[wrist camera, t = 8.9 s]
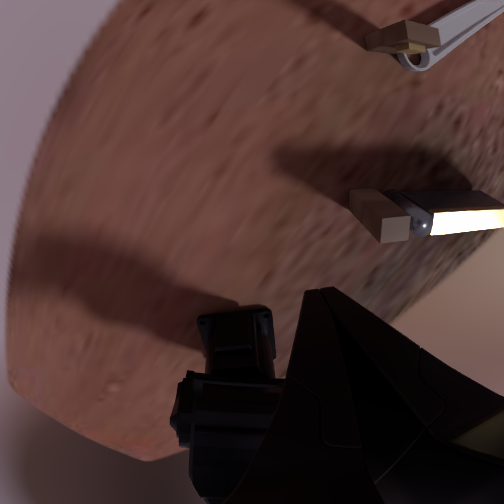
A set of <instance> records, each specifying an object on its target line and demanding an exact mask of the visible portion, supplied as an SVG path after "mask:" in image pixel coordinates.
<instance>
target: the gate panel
mask: <svg viewBox="0 0 504 504" xmlns="http://www.w3.org/2000/svg"><path fill="white" fill-rule="evenodd" d="M383 195H384V196H386V197H387V198H388V199H390V200H391V201H392V202H394V203H395V204H396V205H398V206H399V207H400V208H402V209H403V210H404V211H406V212H407V213H408V214H409V215H411V220H410V228H409V229H410V230H411V231H412V232H413V233H414V234H415V235H416V236H418V237H425V236H426V235H428V234H430V235H436V234H446V233H455V232H464V231H472V230H481V229H490V228H499V227H504V204H503V203H501V202H499V201H498V200H496V199H494V198H493V197H491V196H489V195H487V194H485V193H484V192H482V191H480V190H446V191H402V192H400V193H398V192H397V191H395V190H393V189H390V190H387V191H386V192H385V193H384V194H383Z"/></svg>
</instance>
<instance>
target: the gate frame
mask: <svg viewBox="0 0 504 504" xmlns="http://www.w3.org/2000/svg"><path fill="white" fill-rule="evenodd" d="M365 40H366V47H367V51H373V52H382V53H389V54H401V53H406V54H418V53H424V52H426V51H425V49H430V48H437V47H441V41H440V35H439V29H438V28H435V27H431V26H428V25H424V24H420V23H416V22H412V21H408V20H403V21H400V22H397V23H395V24H392V25H390V26H387V27H385V28H382V29H380V30H377V31H375V32H372V33H370V34H368V35H365ZM349 210H350V212H351V213H352V214H353V215H354V216H355V217H356V218H357V219H358V220H359V221H360V222H361V223H362V224H363V225H364V226H365V228H366V229H367V230H368V231H369V232H370V233H371V234H372V235H373V236H374V237H375V239H376V240H377V241H378V242H379V243H380V244H382V243H389V242H397V241H404V240H408V236H409V228H410V220H411V215H409V214H408V213H407V212H406V211H404V210H403V209H402V208H400V207H399V206H398V205H396V204H395V203H394V202H392V201H391V200H390V199H388V198H387V197H386V196H384V195H383V194H381V193H380V192H379V191H377V190H376V189H374V188H365V189H351V190H349Z"/></svg>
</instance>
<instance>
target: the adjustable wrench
mask: <svg viewBox="0 0 504 504" xmlns="http://www.w3.org/2000/svg"><path fill="white" fill-rule="evenodd" d="M502 12H504V0H472V1H470V2H468V3H466V4H464V5H462V6H460V7H458V8H457V9H455V10H453V11H451V12H449V13H447V14H446V15H444V16H442V17H440V18H439V19H437V20H435V21H433V22H432V23H430V24H428V26H431V27H435V28H438V29H439V35H440V41H441V47H437V48H430V49H425V51H426V52H424V53H420V55H421V62H420V64H419V65H412V63H411V62H410V61H409V60H408V58H407V55H406V53H401V54H397V56H398V59H399V61H400V62H401V64H402V65H403V66H404V67H405V68H407V69H408V70H411V71H425V70H427V69H428V68H430V67H431V66H432V65H434V64H435V63H436V62H437V61H439V60H440V59H441V58H442V57H444V56H445V55H446V54H448V53H449V52H450V51H451V50H453V49H454V48H455V47H457V46H458V45H459V44H461V43H462V42H463V41H465V40H466V39H467V38H468V37H470V36H471V35H472V34H474V33H475V32H476V31H478V30H479V29H480V28H482V27H483V26H484V25H486V24H487V23H489V22H490V21H491V20H493V19H494V18H495V17H497V16H498V15H499V14H501V13H502Z"/></svg>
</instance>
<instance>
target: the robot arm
mask: <svg viewBox="0 0 504 504" xmlns="http://www.w3.org/2000/svg"><path fill="white" fill-rule="evenodd" d="M264 314H268V315H264ZM202 321H205V322H202ZM197 324H198V328H199V331H200V334H201V337H202V340H203V343H204V346H205V349H206V365H205V373H196V372H194V371H190V370H187V374H186V378H183V381H182V382H180V383H178V387H177V394H176V400H175V404H174V407H173V410H172V413H171V417H170V425H171V427H172V428H173V429H174V430H175V431H176V435H177V438H179V447H182V448H190V454H189V456H190V457H189V477H190V479H191V481H192V482H193V485H194V487H195V489H196V491H197V492H198V494H199V496H200V497H201V498H204V500H205V501H206V503H207V504H504V397H503V396H501V395H499V394H497V393H495V392H493V391H491V390H490V389H488V388H486V387H484V386H483V385H481V384H479V383H477V382H476V381H474V380H472V379H470V378H469V377H467V376H465V375H463V374H462V373H460V372H458V371H457V370H455V369H453V368H452V367H450V366H448V365H447V364H445V363H443V362H442V361H441V360H439V359H438V358H436V357H435V356H433V355H431V354H430V353H429V352H427V351H426V350H424V349H423V348H420V346H419V345H417V344H416V343H415V342H413V341H412V340H410V339H409V338H407V337H406V336H405V335H403V334H402V333H400V332H399V331H397V330H396V329H395V328H393V327H392V326H390V325H389V324H387V323H386V322H385V321H383V320H382V319H380V318H379V317H377V316H376V315H375V314H373V313H372V312H370V311H369V310H367V309H366V308H364V307H363V306H361V305H360V304H359V303H357V302H356V301H354V300H353V299H351V298H350V297H348V296H347V295H345V294H344V293H343V292H341V291H340V290H338V289H337V288H335V287H325V288H321V289H320V290H319V289H311V290H306V291H305V292H304V296H303V301H302V305H301V310H300V315H299V320H298V325H297V329H296V334H295V338H294V343H293V347H292V351H291V356H290V360H289V364H288V368H287V373H286V378H285V379H279V378H275V370H274V363H273V360H274V359H275V358H276V349H275V338H274V328H273V317H272V311H271V310H270V309H268V308H264V309H256V310H248V311H239V312H230V313H221V314H211V315H201V316H199V317H198V318H197Z"/></svg>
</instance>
